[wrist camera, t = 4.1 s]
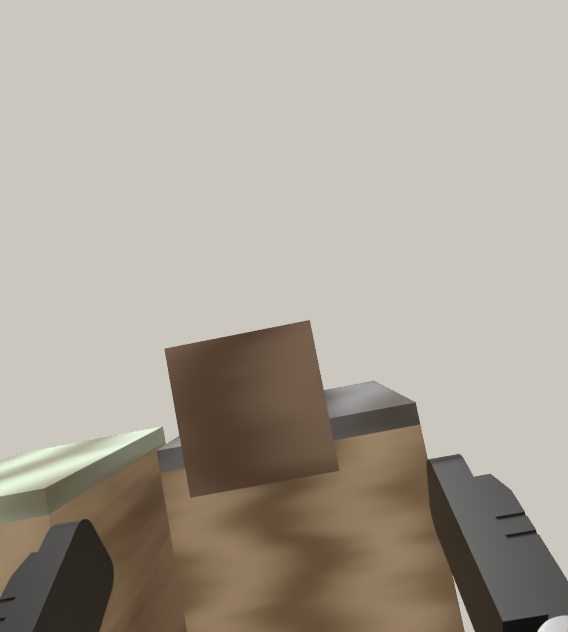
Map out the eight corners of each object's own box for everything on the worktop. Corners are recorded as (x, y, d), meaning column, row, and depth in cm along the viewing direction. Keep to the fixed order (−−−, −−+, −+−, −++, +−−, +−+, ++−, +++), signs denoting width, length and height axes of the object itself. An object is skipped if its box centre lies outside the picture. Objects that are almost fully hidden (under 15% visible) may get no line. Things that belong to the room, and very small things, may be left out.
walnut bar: (190, 497, 12) (164, 348, 13) (270, 399, 36) (260, 348, 37) (339, 471, 12) (309, 320, 12) (321, 389, 36) (311, 338, 36)
